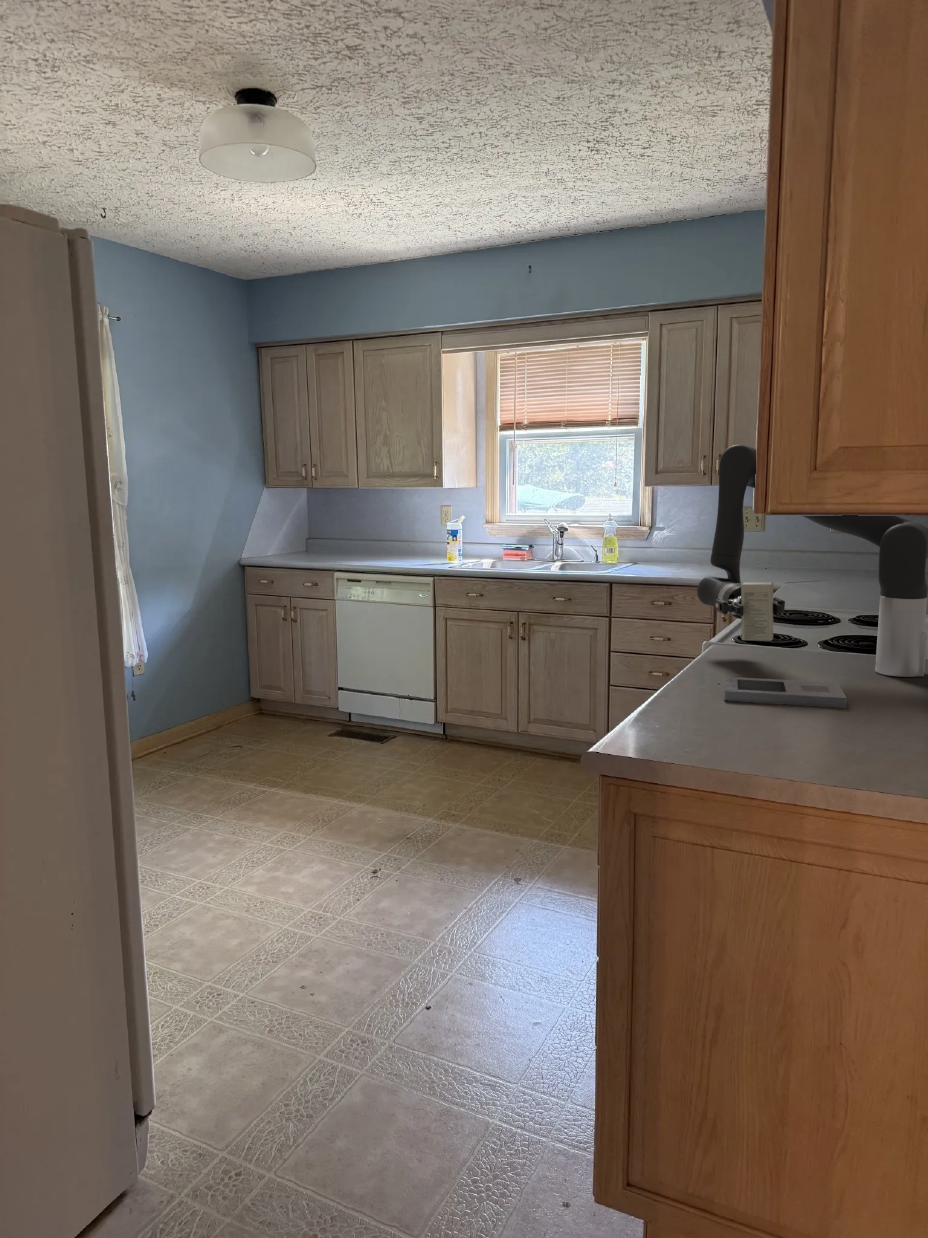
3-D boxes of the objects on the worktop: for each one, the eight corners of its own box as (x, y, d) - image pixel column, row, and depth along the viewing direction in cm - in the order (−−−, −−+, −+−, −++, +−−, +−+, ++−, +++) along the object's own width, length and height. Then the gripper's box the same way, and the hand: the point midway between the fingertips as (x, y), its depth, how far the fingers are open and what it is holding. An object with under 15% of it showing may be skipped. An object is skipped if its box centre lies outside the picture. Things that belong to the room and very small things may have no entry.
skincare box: (773, 638, 181) (775, 581, 179) (771, 641, 177) (773, 584, 175) (742, 636, 184) (743, 581, 182) (739, 640, 180) (741, 583, 178)
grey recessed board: (837, 692, 171) (838, 682, 171) (846, 708, 159) (846, 698, 158) (724, 686, 177) (724, 676, 177) (724, 701, 165) (724, 691, 165)
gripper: (707, 584, 193) (726, 593, 177) (770, 583, 193) (795, 592, 177) (706, 617, 195) (726, 628, 178) (769, 615, 194) (794, 627, 178)
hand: (760, 610), depth 177 cm, fingers closed on skincare box, 7 cm apart
